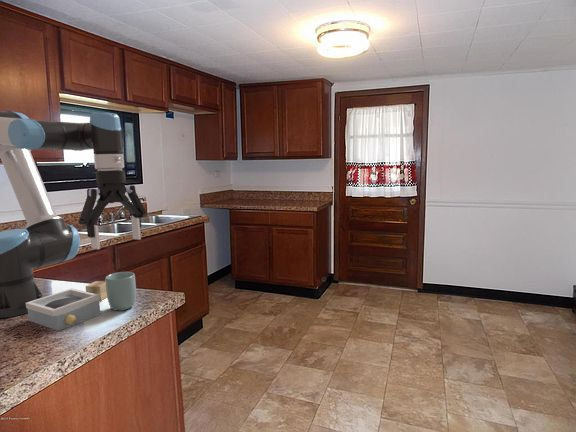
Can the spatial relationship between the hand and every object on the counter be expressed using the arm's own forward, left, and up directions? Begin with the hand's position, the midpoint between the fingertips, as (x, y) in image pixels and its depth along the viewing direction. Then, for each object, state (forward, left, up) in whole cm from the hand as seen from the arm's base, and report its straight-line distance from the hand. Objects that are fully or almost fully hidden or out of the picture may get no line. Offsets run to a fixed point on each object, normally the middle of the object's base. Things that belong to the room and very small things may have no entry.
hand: (117, 243), depth 111 cm
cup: (0, 0, -20) cm, 20 cm away
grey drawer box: (-9, -12, -20) cm, 25 cm away
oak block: (-14, +2, -20) cm, 24 cm away
